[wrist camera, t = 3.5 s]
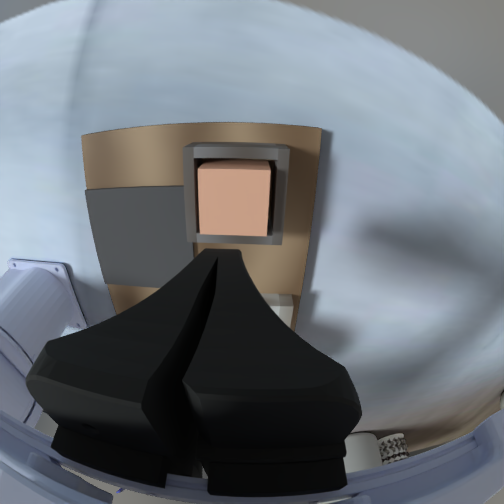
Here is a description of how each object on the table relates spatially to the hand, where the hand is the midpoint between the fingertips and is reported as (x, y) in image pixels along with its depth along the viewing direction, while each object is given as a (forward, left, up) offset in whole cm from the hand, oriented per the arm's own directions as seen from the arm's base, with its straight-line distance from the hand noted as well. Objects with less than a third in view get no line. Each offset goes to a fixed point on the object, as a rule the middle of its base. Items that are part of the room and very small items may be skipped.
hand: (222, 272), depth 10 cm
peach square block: (0, +1, -8) cm, 8 cm away
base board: (-3, -6, -9) cm, 12 cm away
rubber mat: (-7, -3, -8) cm, 11 cm away
